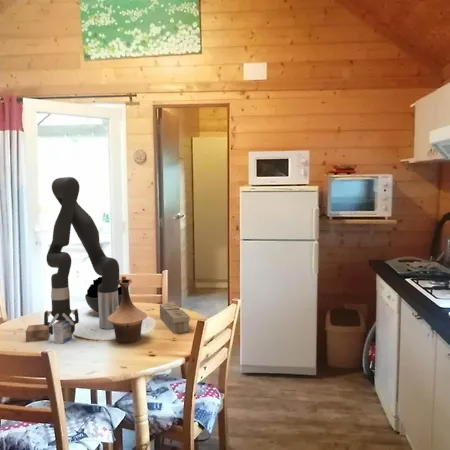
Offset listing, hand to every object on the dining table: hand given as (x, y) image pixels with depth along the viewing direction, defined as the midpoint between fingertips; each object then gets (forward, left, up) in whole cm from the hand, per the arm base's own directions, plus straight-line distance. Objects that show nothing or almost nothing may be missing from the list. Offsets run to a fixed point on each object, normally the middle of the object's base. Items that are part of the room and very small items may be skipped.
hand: (62, 333), depth 214 cm
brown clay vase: (-28, +6, -3) cm, 29 cm away
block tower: (-50, -11, -4) cm, 51 cm away
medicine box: (0, 0, -3) cm, 3 cm away
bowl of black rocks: (-16, -41, -3) cm, 44 cm away
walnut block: (+11, -7, -3) cm, 13 cm away
